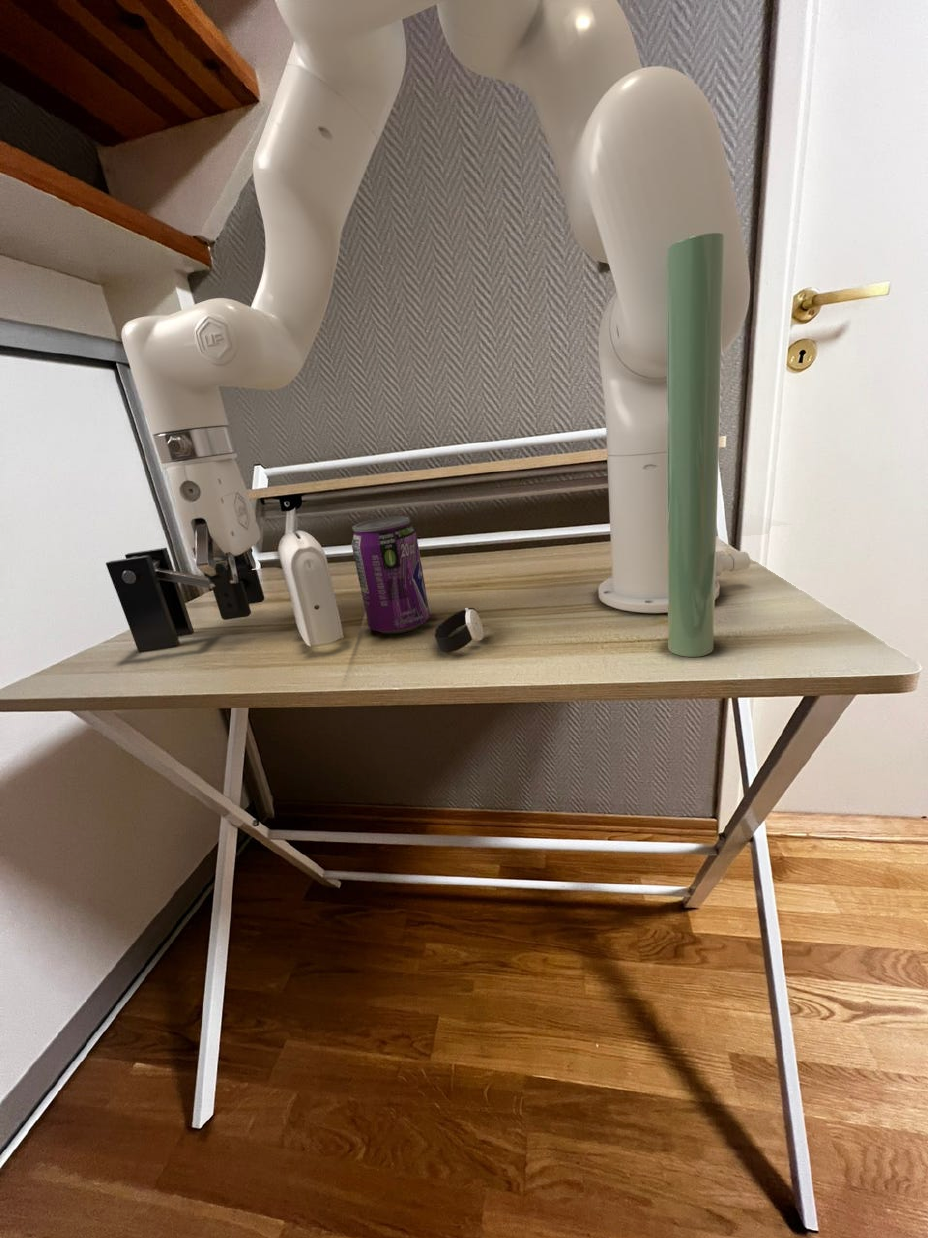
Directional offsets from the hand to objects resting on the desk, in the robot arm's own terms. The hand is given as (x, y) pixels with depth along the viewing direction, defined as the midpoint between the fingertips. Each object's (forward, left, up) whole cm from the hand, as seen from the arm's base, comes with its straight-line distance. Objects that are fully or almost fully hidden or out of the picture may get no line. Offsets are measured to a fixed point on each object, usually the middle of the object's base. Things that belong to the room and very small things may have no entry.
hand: (244, 608), depth 63 cm
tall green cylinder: (-44, +20, -4) cm, 49 cm away
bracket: (+10, 0, -4) cm, 11 cm away
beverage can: (-18, +3, -4) cm, 19 cm away
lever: (+6, 0, +3) cm, 7 cm away
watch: (-25, +11, -4) cm, 27 cm away
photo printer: (-9, +4, -4) cm, 11 cm away
